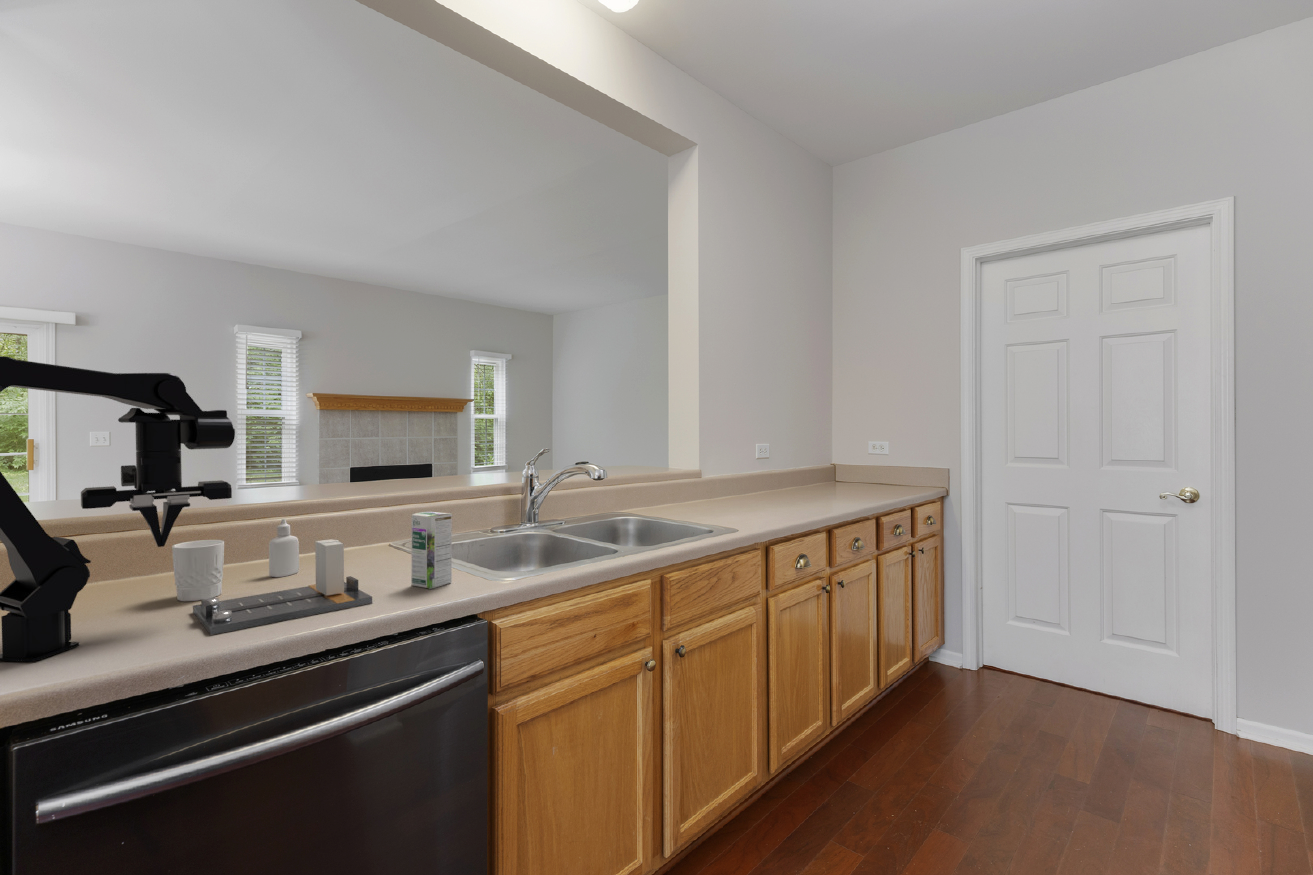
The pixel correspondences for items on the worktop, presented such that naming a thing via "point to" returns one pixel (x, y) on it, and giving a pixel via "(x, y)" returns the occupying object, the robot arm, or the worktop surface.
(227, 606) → the board
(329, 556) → the fader
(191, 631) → the worktop surface
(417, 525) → the syrup box
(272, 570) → the eye dropper bottle
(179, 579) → the white cup
